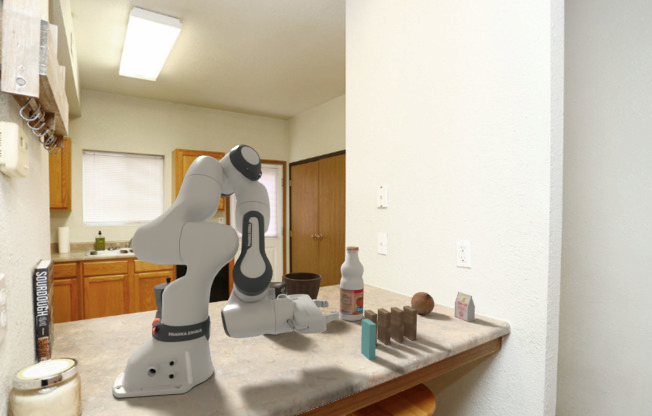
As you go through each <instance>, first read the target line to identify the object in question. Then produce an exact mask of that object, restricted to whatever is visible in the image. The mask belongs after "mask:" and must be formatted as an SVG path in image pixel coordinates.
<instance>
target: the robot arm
mask: <svg viewBox="0 0 652 416" xmlns="http://www.w3.org/2000/svg"><path fill="white" fill-rule="evenodd" d="M261 160H262V159H261V157H260V155H259V153H258V152H257V150H256V149H254V148H253V146H250V145H247V144H245V143H243V144H239V145H236V146H235V147H232V149H230V151H229V152H228V153H227V154H225V155H224V156H223V157H222V158H221V159H219V160H218V159H217V158H216V157H213V156H211V155H201V156H198V157H196V158H195V159H194V160H193V161H192V163H191V164H190V166H189V167H188V169H187V170H186V173H185V175H184V178H183V180H182V183H181V186H180V189H179V192H178V194H177V196H176V199H174V202H172V204H171V205H170V206H169V207H168V209H167V210H166V209H165V211H163V213H162V214H160V215H159V216H158V217H156V218H154V219H153V220H151V221H148V222H146V223H144V224H140V226H139V227H138V228H137V229H136V230H135V232H134V233H133V236H132V238H131V239H132V240H131V249H132V253H133V254H134V256H135V257H136V258H137V260H138V261H139V262H144V263H148V264H152V265H153V264H154V265H158V266H163V265H164V266H167V265H168V266H171V265H172V266H177V265H179V266H186V268H187V269H186V273H185V275H183V276H181V277H179V278H177V279H175V280H173V281H170V282H171V283H170V284H168V285H167V286H166V288H165V289H164V291H163V294H162V320H160V319H159V318H156V319H155V318H154V319H153V321H152V323H151V325H152V329H151V336H152V337H150V338H149V339H147V340H146V341H144V343H142V344H141V345H140V346H138V347H137V348H135V350H134V351H132V353H131V354H130V356H129V357H128V359H127V362H126V365H125V368H124V369H123V370H122V371H121V372H120V373H119V374H118V375H117V376H116V378H115V379H114V381H113V382H114V383H113V386H112V394H113V396H114V397H116V398H132V397H133V398H134V397H135V398H137V397H147V396H148V397H149V396H162V395H175V394H176V395H177V394H184V393H185V394H186V393H187V392H189V391H190V390H191V389H192V388H193V387H195V386H197V385H199V384H201V383H204V382H205V381H206V380H208V379H209V378H210V377H211V376H212V375H213V373H214V372H215V367H214V364H213V361H212V356H211V349H210V337H211V329H212V328H211V324H212V321H211V317H210V316H211V315H209V314H210V313H209V309H210V298H211V297H210V296H211V288H212V285H213V282H214V280H215V277H216V276H217V275H218V274H219V272H220V271H221V270H222V268H223V267H225V266H226V265H227V264H228V263H230V262H231V261H232V260H233V259H234V258H235V257H236V255H237V253H238V251H239V248H240V245H241V248H240V254H239V256H238V258H237V259H236V260H235V263H234V265H233V267H232V272H231V275H232V276H231V277H232V281H233V288H232V289H231V290H232V291H231V293H230V295H229V298H228V300H227V301H226V303H225V305H224V306H223V308H222V309H221V310H220V317H221V322H222V327H223V328H222V329H223V330H224V333H225V335H226V336H227V337H229V338H231V339H246V338H256V337H260V336H262V335H271V334H278V333H279V334H284V333H292V332H293V331H295V332H297V333H298V334H303V335H308V334H310V335H311V334H320V333H324V332H326V331H327V324H329V323H331V322H333V321H338V320H339V319H340V313H339V311H336V310H335V311H331V312H330V313H323V312H322V311H321V310H320V308H322V309H326V308H328V307H329V306H330V305H329V303H330V302H329V301H328V300H327V299H322V300H321V299H317V300H316V299H314V300H312V299H311V298H310V296H309V295H306V294H296V295H288V296H287V294H286V295H285V294H280V295H278V297H277V299H274V300H269V299H268V298H267V295H268V290H269V286H270V282H272V280H273V275H274V271H273V270H274V269H273V266H272V263H271V262H270V259H269V258H268V256H267V253H266V242H265V240H266V237H265V236H266V235H265V234H266V233H267V232H268V230H269V227H270V221H271V205H270V204H271V203H270V197H269V192H268V189H267V187H266V185H264V184H263V183H262V182H260V181H259V180H260V179H261V177H262V175H263V172H262V161H261ZM233 194H234V195H235V200H236V202H235V211H234V217H235V227H236V230H235V227H233V226H231V225H228V224H224V223H219V222H213V221H209V220H212V218H213V217H214V216H215V215H216V214H217V212H218V210H219V205H220V201H221V198H222V199H224V198H228V197H230V196H233ZM238 233H239V234H241V244H240V239H239V236H238V235H239V234H238ZM279 334H278V335H279Z"/></svg>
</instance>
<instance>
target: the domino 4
mask: <svg viewBox="0 0 652 416" xmlns="http://www.w3.org/2000/svg"><path fill="white" fill-rule="evenodd" d="M402 307H403V309H402V310H403V311H404V337H405V338H406V339H408V340H409V341H411V342H413V341H417V340H418V339H417V337H418V336H417V334H418V331H417V330H418V329H417V328H418V327H417V326H418V323H417V322H418V313H417V310H416V309H414V308H412V307H411V306H409V305H404V306H402Z"/></svg>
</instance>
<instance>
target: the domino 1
mask: <svg viewBox="0 0 652 416" xmlns="http://www.w3.org/2000/svg"><path fill="white" fill-rule="evenodd" d="M363 319H369V320H370V321H372V322H373V323H375V324H376V345H375V347H377V344H378V339H377V323H378V313H376V312H374V311H373V310H371V309H363Z"/></svg>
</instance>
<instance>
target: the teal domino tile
mask: <svg viewBox="0 0 652 416" xmlns="http://www.w3.org/2000/svg"><path fill="white" fill-rule="evenodd" d="M360 336H361V338H360V339H361V343H360V344H361V346H360V347H361V348H360V353H361V354H362V355H363V356H364V357H365V358H366V359H368V360H369V361H371V360H376V346H375V345H376V324H375V323H373V322H372V321H370V320H369V319H364V318H362V319H361V335H360Z"/></svg>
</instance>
